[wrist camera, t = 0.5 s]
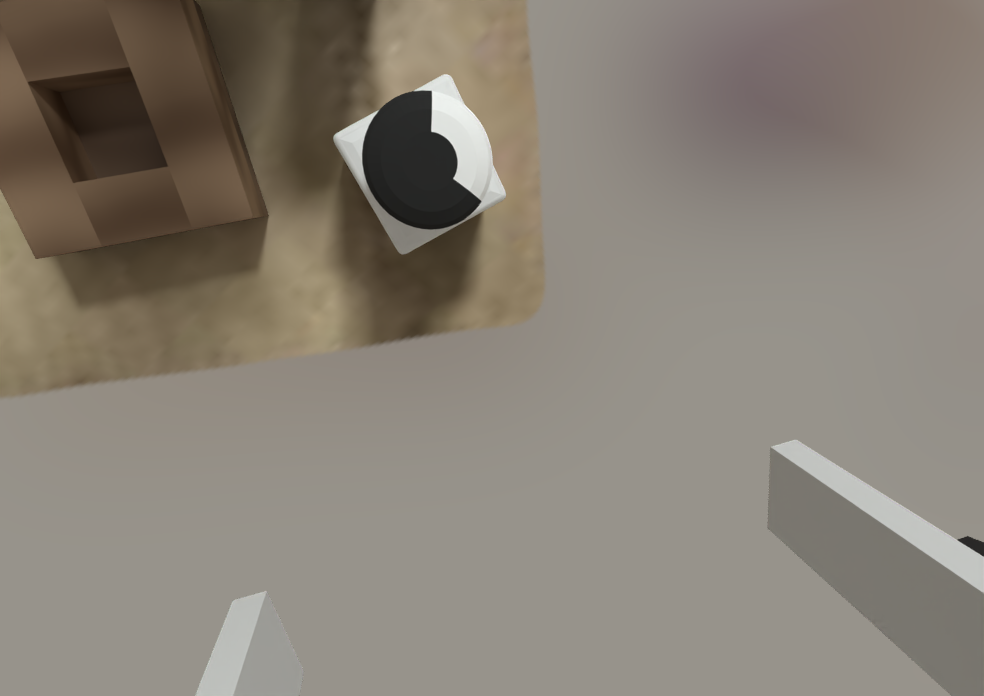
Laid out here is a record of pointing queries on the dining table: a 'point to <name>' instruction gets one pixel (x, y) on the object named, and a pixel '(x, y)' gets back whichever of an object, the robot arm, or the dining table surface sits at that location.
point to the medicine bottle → (422, 163)
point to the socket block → (116, 124)
